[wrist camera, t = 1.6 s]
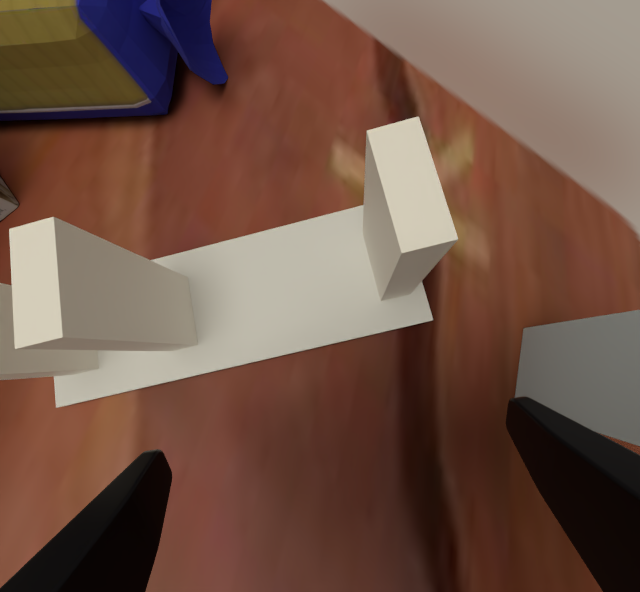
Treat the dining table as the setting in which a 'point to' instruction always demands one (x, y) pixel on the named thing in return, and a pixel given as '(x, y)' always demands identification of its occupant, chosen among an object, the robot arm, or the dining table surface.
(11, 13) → the bread
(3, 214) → the coffee box
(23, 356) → the domino
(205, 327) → the row mat
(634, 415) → the domino
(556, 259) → the dining table surface
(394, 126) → the domino
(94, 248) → the domino
